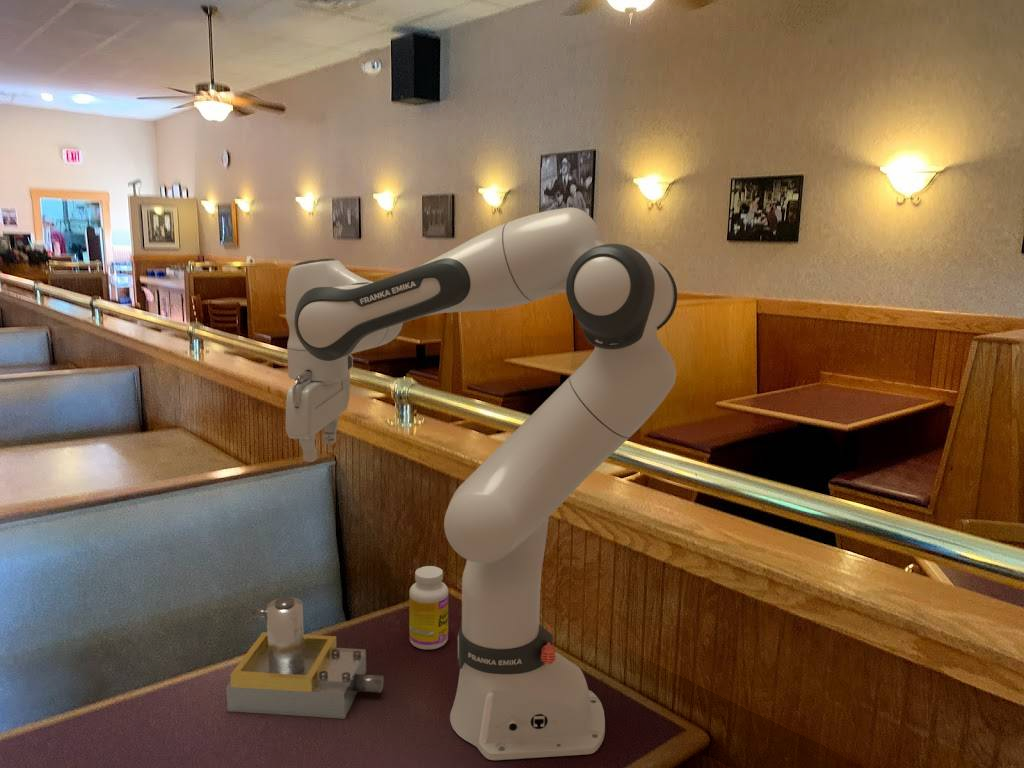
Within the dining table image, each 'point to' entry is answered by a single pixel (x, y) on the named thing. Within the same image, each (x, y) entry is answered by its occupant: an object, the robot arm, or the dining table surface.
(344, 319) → the robot arm
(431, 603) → the supplement bottle
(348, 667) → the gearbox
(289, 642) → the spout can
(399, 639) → the dining table surface
